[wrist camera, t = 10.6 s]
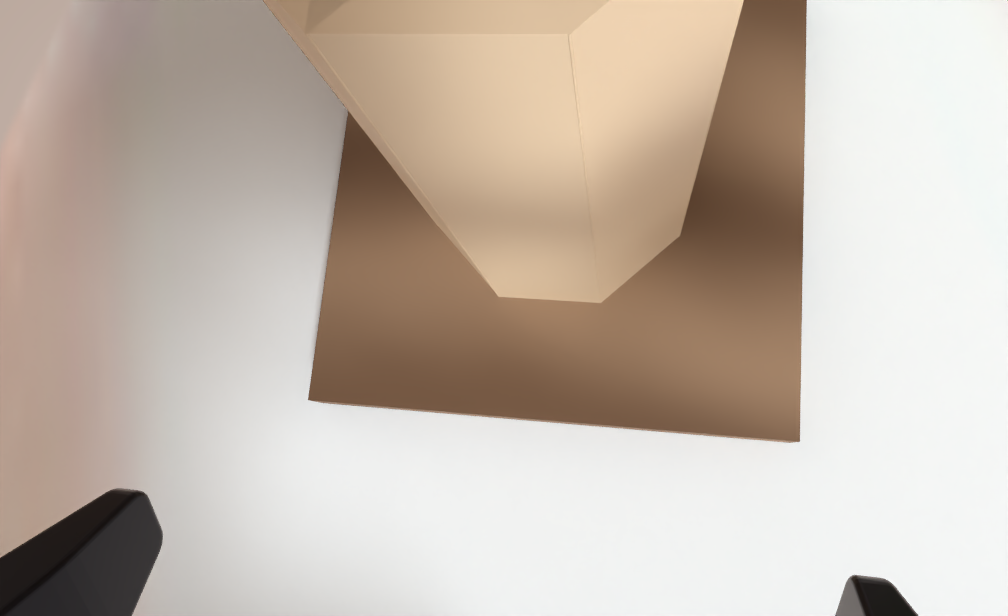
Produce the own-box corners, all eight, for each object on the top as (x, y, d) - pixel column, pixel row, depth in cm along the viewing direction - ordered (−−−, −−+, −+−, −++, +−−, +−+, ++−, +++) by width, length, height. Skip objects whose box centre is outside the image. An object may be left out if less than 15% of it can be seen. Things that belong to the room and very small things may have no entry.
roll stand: (790, 442, 18) (861, 435, 13) (323, 402, 20) (215, 382, 15) (797, -3, 20) (861, -167, 15) (377, 1, 22) (301, -143, 17)
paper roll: (676, 308, 18) (778, 35, 6) (429, 292, 19) (136, 34, 8) (688, 72, 19) (793, -516, 8) (454, 70, 20) (234, -451, 9)
